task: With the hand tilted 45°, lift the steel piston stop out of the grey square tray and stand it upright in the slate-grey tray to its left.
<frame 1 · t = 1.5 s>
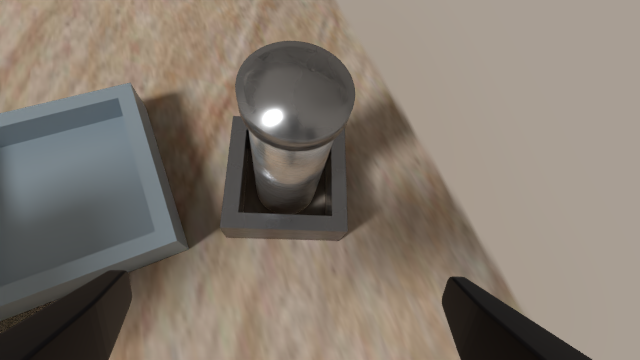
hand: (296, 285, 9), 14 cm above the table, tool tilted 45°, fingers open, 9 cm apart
grey square tray: (286, 186, 25), on the table
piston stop: (289, 151, 19), in the grey square tray
parts tray: (75, 201, 22), on the table
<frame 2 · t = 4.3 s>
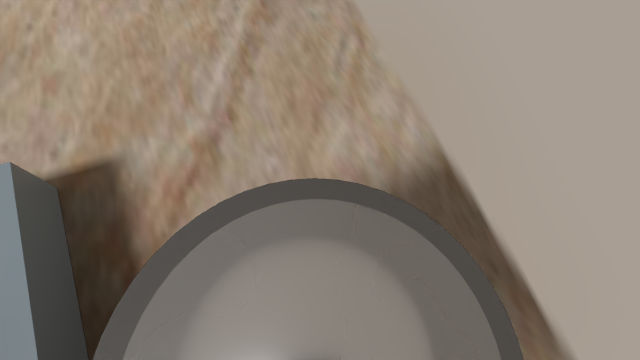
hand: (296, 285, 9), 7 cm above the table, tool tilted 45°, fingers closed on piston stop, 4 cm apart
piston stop: (293, 338, 9), in the grey square tray, touching gripper
when the fingers open (9 cm above the table, at t = 8.5 s): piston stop drops 1 cm, resting on parts tray.
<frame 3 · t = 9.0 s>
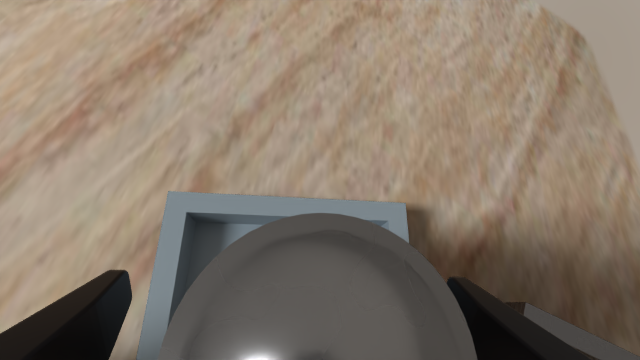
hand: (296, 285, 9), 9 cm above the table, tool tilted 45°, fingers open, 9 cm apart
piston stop: (294, 336, 10), in the parts tray, point 7 cm above the table
parts tray: (284, 323, 17), on the table
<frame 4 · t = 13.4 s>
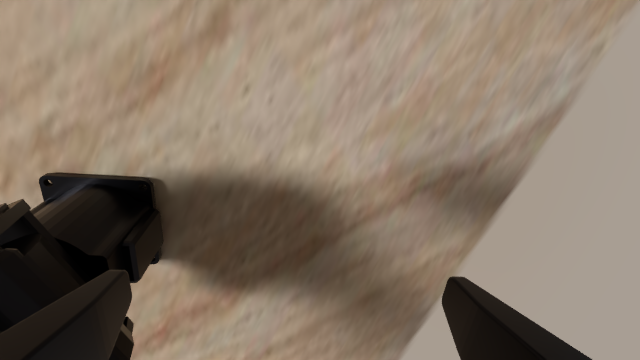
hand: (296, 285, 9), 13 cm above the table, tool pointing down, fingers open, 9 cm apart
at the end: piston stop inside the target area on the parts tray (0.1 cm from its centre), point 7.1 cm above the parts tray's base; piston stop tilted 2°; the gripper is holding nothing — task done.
